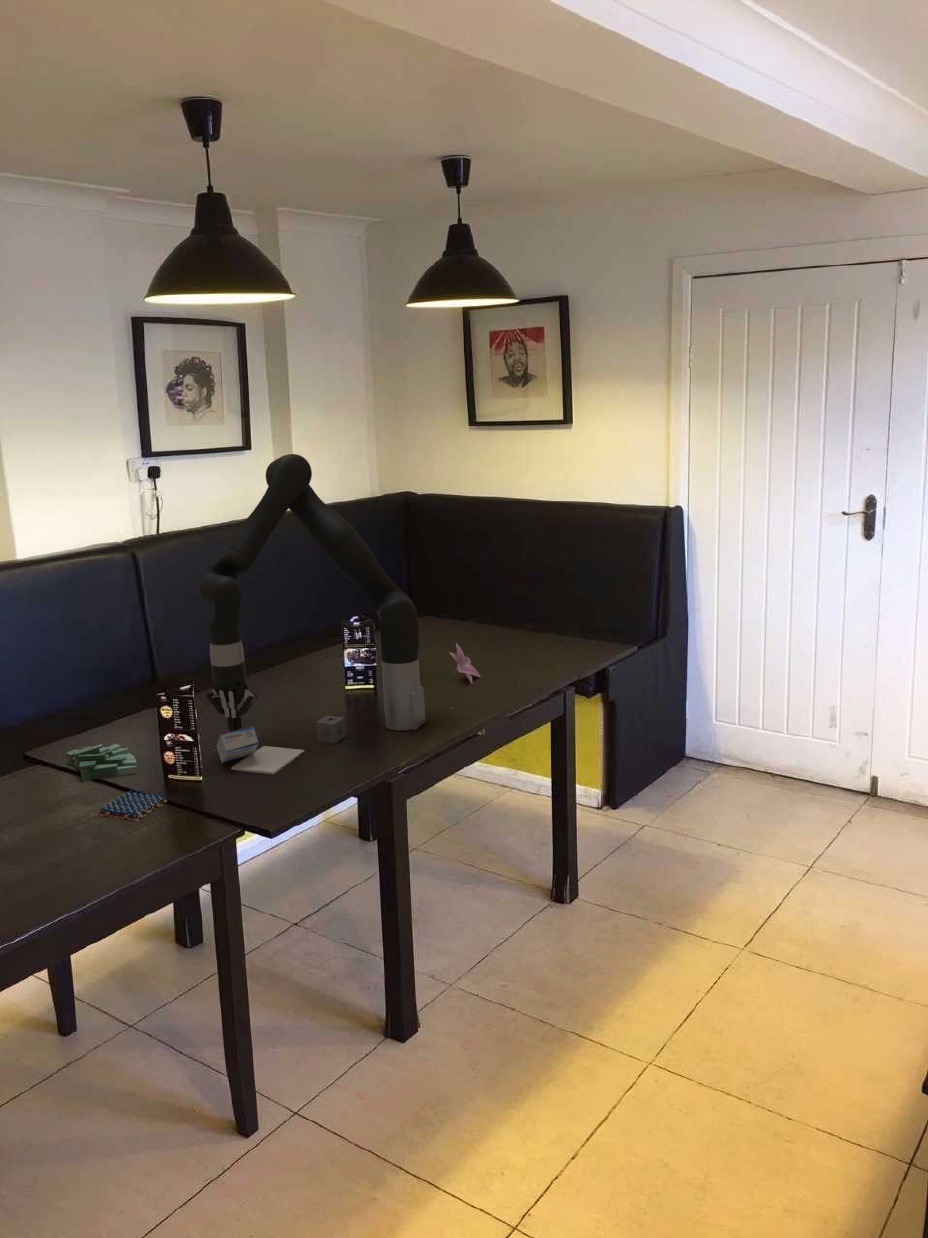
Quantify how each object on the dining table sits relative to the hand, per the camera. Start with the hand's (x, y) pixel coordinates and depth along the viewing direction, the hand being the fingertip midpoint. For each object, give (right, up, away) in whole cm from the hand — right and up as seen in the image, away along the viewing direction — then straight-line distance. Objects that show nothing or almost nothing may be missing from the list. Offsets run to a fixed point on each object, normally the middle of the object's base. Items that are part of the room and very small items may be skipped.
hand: (235, 731), depth 242 cm
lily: (+53, +9, +52) cm, 75 cm away
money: (-30, -9, -1) cm, 31 cm away
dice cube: (+21, -3, +11) cm, 24 cm away
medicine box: (0, -4, 0) cm, 4 cm away
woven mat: (-16, -14, -25) cm, 33 cm away
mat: (+8, -7, -2) cm, 11 cm away
